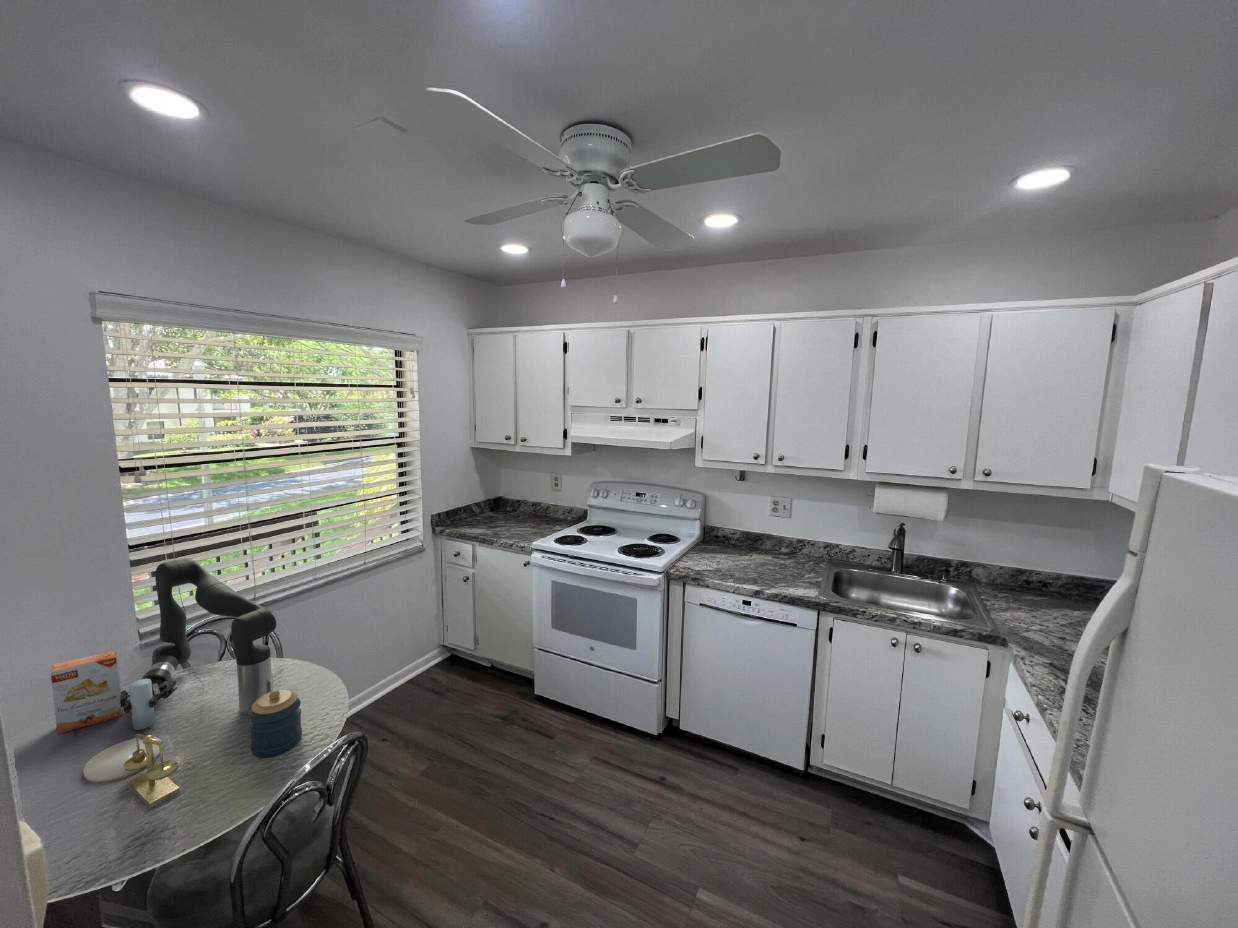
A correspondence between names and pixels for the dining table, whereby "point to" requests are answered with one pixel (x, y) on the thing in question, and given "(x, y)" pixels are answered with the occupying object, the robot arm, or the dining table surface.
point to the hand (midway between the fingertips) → (139, 707)
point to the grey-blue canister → (141, 704)
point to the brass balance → (151, 773)
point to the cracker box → (86, 691)
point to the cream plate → (114, 761)
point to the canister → (275, 723)
